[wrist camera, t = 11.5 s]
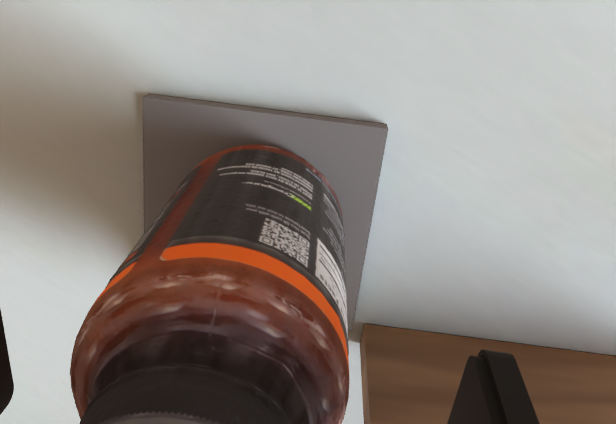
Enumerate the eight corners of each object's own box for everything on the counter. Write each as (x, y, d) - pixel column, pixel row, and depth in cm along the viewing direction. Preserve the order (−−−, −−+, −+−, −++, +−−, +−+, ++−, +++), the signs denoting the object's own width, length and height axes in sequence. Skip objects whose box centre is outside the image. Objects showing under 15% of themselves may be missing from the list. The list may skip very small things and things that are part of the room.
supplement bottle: (184, 289, 20) (23, 614, 10) (169, 136, 18) (-63, 356, 8) (343, 295, 20) (345, 636, 10) (349, 140, 18) (360, 374, 7)
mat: (148, 93, 18) (142, 97, 18) (386, 124, 18) (388, 129, 18) (149, 296, 21) (144, 304, 21) (351, 321, 21) (351, 330, 21)
